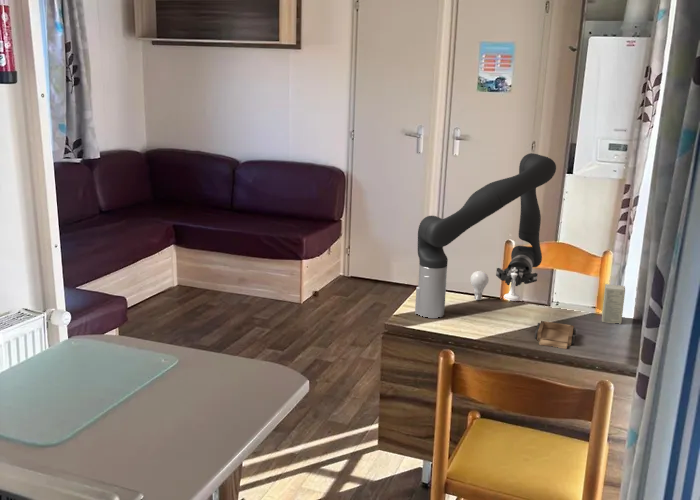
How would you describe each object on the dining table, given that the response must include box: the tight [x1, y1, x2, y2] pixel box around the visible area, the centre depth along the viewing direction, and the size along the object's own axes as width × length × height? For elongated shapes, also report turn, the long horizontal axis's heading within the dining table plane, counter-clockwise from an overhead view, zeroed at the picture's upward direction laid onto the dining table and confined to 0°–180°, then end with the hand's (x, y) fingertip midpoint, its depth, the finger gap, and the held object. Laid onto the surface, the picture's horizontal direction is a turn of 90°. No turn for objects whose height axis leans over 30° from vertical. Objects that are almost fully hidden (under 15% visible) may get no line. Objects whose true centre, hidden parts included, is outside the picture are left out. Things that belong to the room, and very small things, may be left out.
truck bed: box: [534, 320, 577, 350], centre depth 211 cm, size 12×13×3 cm
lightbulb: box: [469, 270, 489, 302], centre depth 243 cm, size 6×6×11 cm
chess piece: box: [503, 267, 521, 302], centre depth 213 cm, size 5×5×10 cm
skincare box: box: [601, 283, 626, 325], centre depth 226 cm, size 6×4×12 cm
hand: (512, 282), depth 210 cm, fingers closed on chess piece
